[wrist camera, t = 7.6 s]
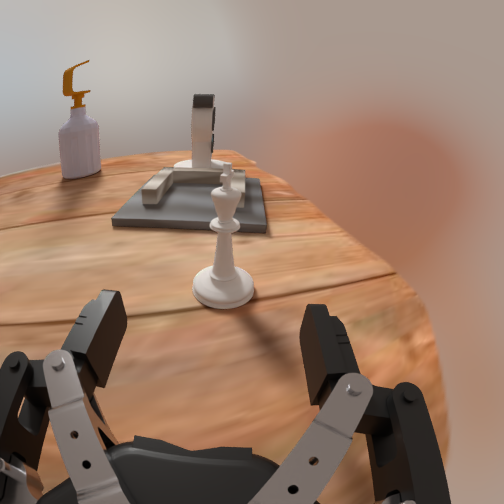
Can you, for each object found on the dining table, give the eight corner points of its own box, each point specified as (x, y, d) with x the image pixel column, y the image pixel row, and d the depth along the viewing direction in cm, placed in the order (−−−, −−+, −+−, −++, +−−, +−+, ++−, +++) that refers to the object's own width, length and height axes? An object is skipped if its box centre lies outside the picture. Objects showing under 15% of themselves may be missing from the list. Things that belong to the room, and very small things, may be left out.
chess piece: (182, 301, 21) (175, 169, 16) (204, 266, 25) (205, 153, 20) (246, 315, 20) (258, 177, 15) (259, 277, 24) (271, 160, 19)
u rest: (265, 233, 31) (268, 207, 30) (112, 225, 30) (109, 202, 29) (258, 184, 47) (260, 167, 45) (154, 180, 46) (154, 163, 44)
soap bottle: (108, 169, 52) (108, 56, 39) (73, 181, 45) (69, 58, 32) (89, 165, 55) (87, 64, 43) (56, 177, 48) (52, 68, 36)
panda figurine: (230, 175, 50) (235, 94, 43) (169, 174, 49) (170, 94, 41) (228, 161, 61) (232, 95, 53) (177, 160, 59) (179, 95, 51)
